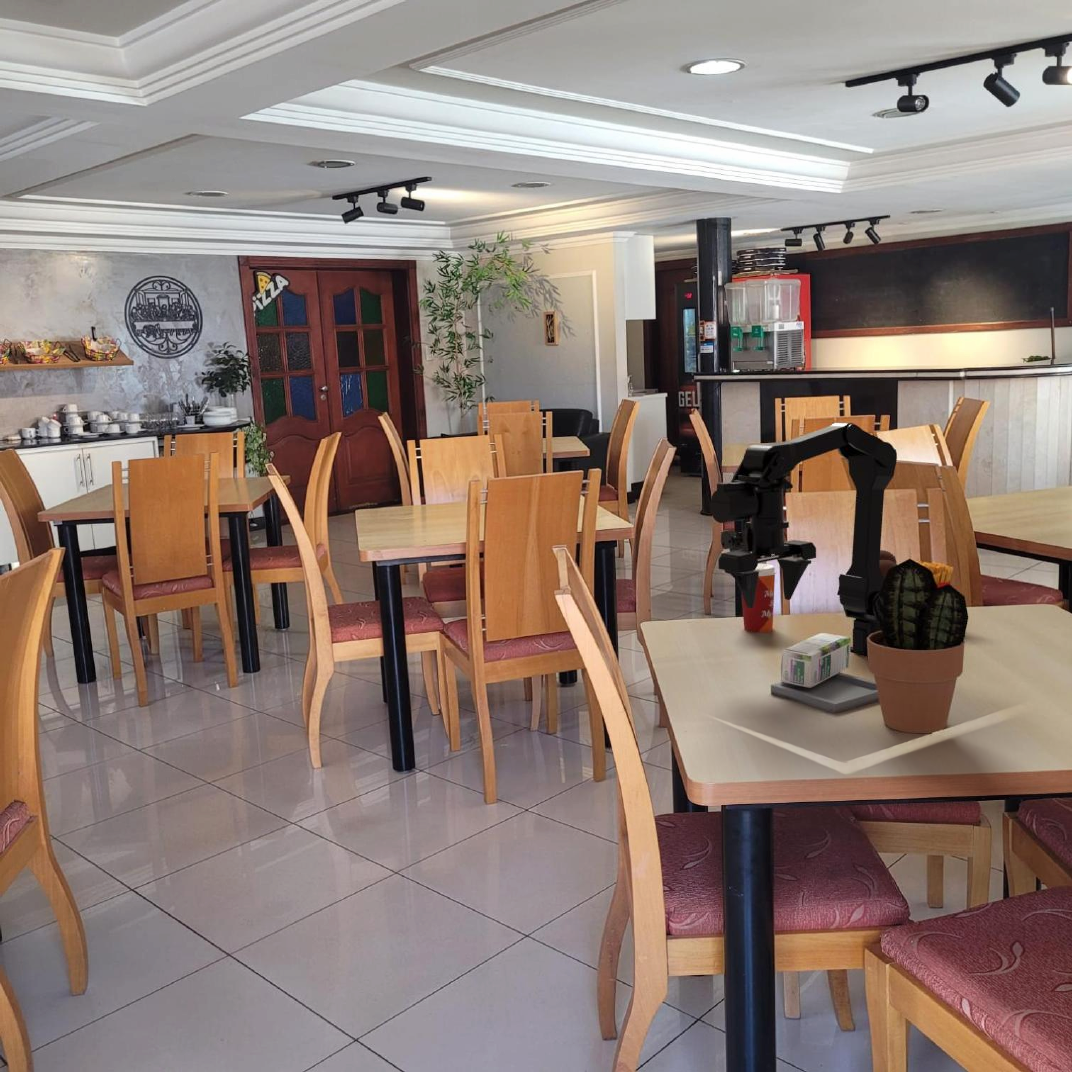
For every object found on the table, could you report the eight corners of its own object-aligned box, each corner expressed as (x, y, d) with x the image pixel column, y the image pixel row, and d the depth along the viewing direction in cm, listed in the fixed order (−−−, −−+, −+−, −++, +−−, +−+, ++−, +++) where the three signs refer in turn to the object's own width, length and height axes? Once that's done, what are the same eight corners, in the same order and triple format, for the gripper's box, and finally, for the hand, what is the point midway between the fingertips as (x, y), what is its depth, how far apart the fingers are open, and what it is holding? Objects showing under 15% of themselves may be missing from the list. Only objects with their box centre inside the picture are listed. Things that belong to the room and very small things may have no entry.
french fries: (899, 622, 219) (904, 561, 216) (905, 618, 222) (910, 557, 220) (945, 630, 214) (951, 567, 211) (950, 625, 217) (956, 563, 215)
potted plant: (880, 740, 152) (880, 570, 149) (857, 711, 166) (856, 554, 162) (977, 737, 152) (979, 566, 148) (945, 708, 165) (946, 550, 162)
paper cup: (777, 637, 214) (776, 569, 212) (739, 637, 216) (737, 570, 214) (777, 628, 222) (776, 562, 220) (739, 628, 223) (738, 563, 221)
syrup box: (850, 668, 185) (811, 689, 174) (819, 662, 189) (779, 682, 178) (851, 636, 184) (812, 655, 173) (819, 631, 188) (780, 649, 177)
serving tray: (829, 677, 184) (829, 669, 184) (894, 695, 173) (894, 686, 172) (770, 693, 177) (770, 684, 177) (835, 713, 165) (835, 704, 165)
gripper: (771, 507, 197) (774, 589, 199) (695, 519, 187) (698, 605, 189) (817, 511, 187) (819, 597, 190) (739, 524, 177) (742, 615, 180)
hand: (769, 603), depth 187 cm, fingers open, 9 cm apart
